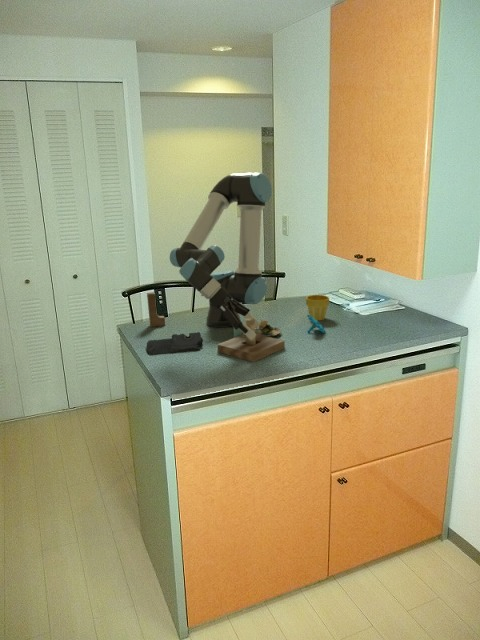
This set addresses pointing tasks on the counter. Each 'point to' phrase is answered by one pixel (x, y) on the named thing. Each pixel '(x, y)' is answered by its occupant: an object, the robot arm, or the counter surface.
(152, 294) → the wooden block
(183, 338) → the dark slate chunk
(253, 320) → the long maple pin
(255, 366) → the counter surface
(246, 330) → the robot arm
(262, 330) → the burger
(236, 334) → the short teal pin
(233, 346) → the walnut hole board
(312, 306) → the plant pot
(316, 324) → the gear
